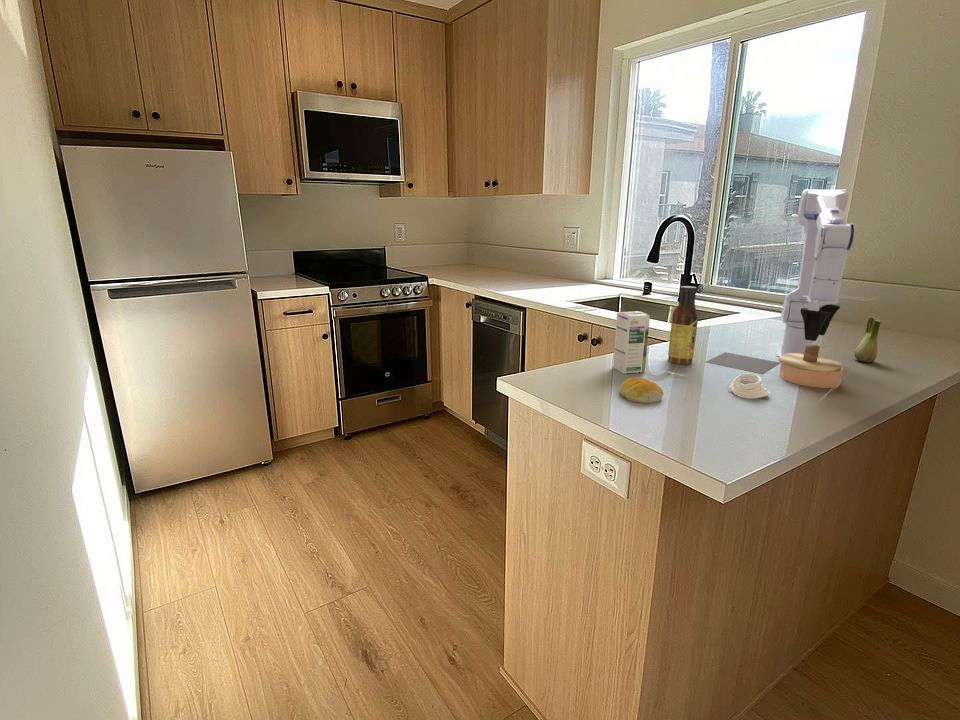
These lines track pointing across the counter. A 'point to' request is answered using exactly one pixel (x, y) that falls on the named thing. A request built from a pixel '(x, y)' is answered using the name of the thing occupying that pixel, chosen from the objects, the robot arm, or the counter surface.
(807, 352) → the lid
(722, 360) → the mat
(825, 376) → the ring
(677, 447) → the counter surface
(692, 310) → the sauce bottle
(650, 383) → the bread roll
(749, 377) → the whipped cream
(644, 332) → the syrup box
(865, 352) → the fennel bulb
